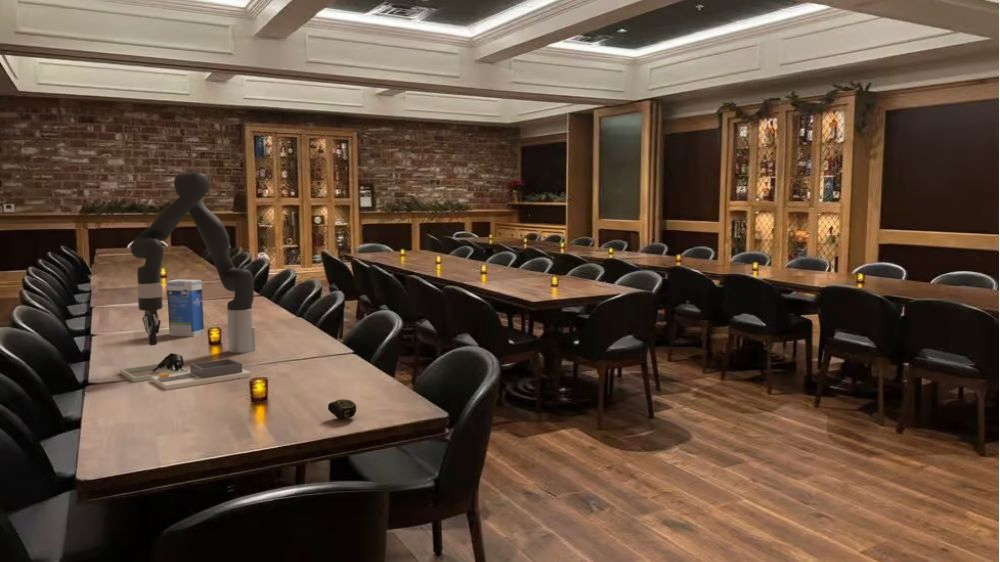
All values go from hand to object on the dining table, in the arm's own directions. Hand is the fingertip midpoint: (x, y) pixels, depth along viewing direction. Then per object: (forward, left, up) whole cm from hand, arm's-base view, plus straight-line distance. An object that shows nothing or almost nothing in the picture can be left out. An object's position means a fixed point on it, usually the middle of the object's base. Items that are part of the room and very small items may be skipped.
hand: (152, 344), depth 257 cm
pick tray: (0, 0, -10) cm, 10 cm away
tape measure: (-21, +90, -10) cm, 93 cm away
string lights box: (-33, -67, -11) cm, 75 cm away
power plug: (0, -1, -12) cm, 12 cm away
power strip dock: (-10, +19, -10) cm, 24 cm away
